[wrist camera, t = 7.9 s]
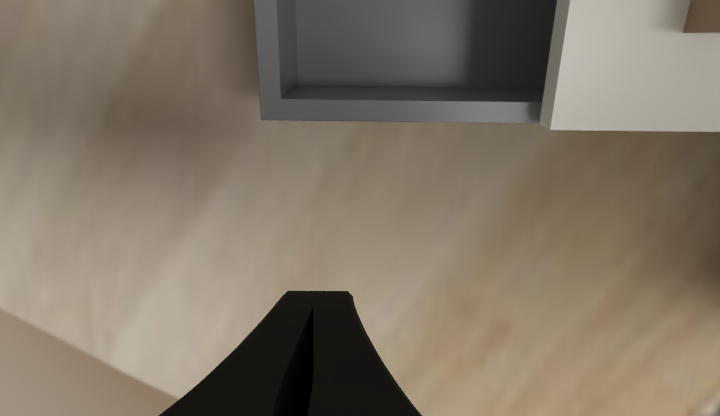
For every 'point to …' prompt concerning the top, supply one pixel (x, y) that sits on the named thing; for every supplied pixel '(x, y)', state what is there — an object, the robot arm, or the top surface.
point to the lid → (634, 66)
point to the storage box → (403, 59)
